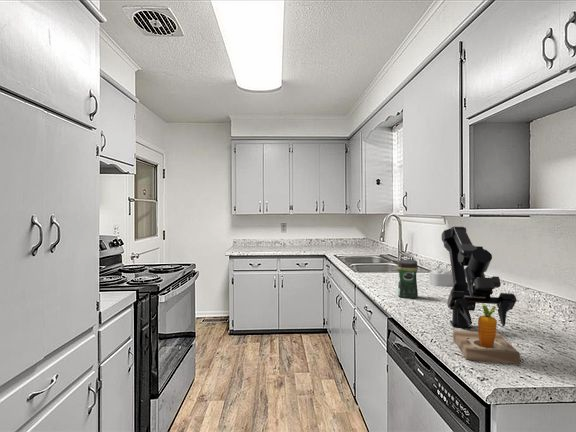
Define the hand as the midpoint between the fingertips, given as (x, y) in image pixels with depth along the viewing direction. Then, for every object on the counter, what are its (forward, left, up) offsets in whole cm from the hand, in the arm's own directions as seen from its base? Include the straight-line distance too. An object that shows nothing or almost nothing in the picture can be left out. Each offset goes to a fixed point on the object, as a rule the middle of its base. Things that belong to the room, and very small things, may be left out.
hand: (487, 324), depth 114 cm
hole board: (-3, 0, -9) cm, 10 cm away
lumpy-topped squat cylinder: (-112, +7, -9) cm, 113 cm away
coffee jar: (-74, -16, -9) cm, 77 cm away
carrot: (-1, 0, -9) cm, 9 cm away
